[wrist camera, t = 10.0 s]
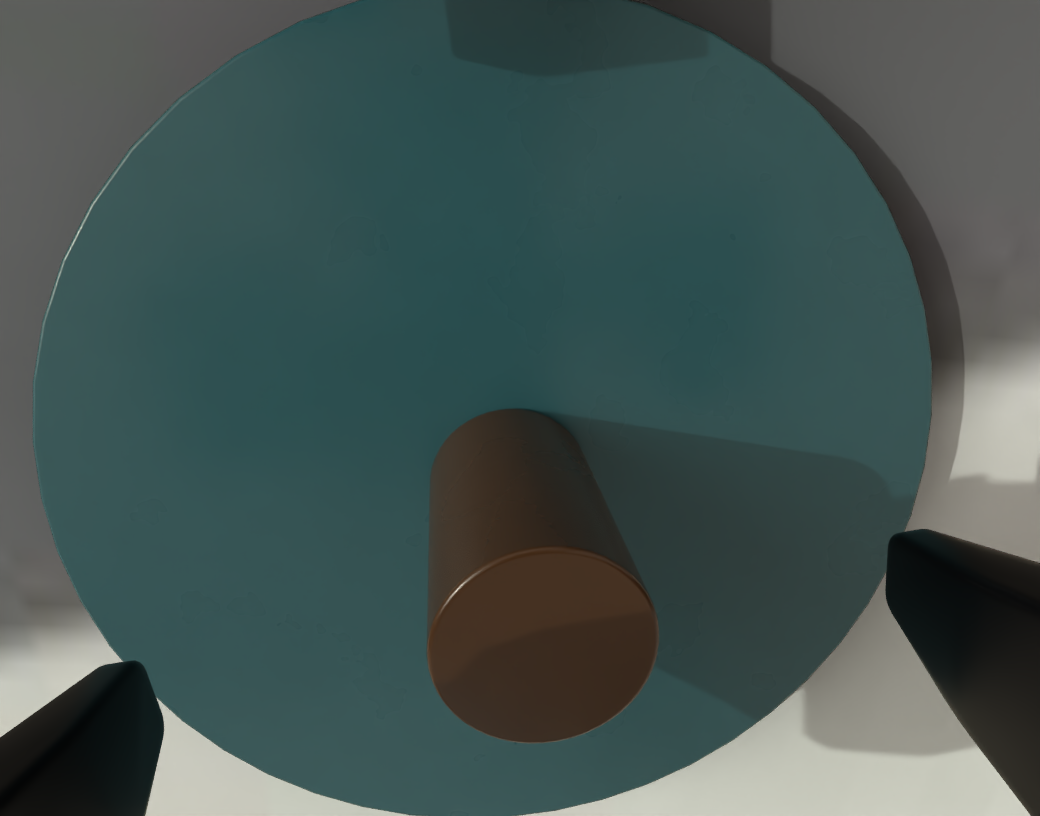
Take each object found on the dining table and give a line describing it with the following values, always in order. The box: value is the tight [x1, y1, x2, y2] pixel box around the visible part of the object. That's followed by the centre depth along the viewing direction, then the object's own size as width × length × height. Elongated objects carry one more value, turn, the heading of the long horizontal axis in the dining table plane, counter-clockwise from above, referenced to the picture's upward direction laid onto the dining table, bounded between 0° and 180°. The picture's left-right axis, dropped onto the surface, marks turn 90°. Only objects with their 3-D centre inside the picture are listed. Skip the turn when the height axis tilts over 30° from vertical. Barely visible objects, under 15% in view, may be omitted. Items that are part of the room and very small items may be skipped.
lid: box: [33, 0, 932, 816], centre depth 11 cm, size 15×15×6 cm
